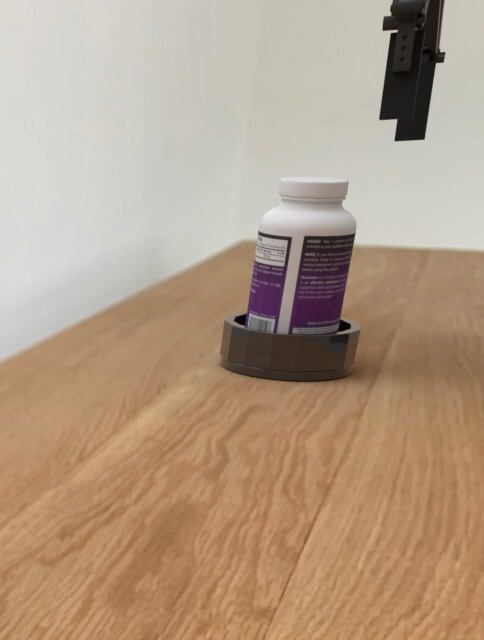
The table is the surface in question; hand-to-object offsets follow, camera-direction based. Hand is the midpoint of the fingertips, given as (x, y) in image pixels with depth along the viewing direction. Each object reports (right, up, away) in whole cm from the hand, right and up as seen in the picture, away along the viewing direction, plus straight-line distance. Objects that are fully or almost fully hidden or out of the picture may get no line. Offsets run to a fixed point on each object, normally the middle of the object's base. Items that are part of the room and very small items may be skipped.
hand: (402, 130), depth 102 cm
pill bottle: (-11, -22, -2) cm, 25 cm away
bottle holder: (-11, -22, -2) cm, 25 cm away
